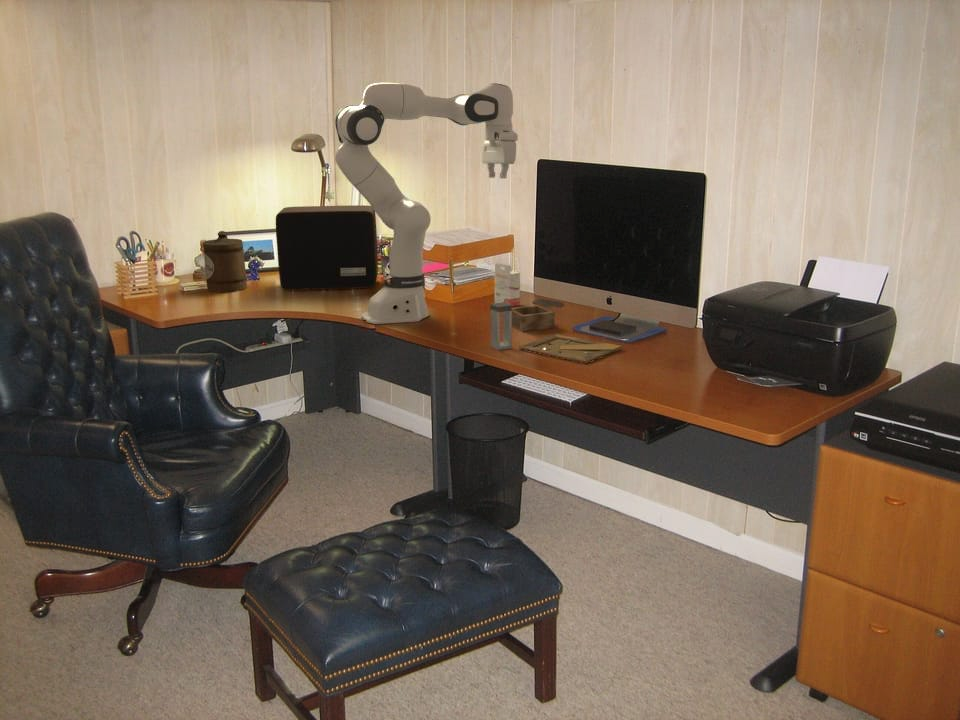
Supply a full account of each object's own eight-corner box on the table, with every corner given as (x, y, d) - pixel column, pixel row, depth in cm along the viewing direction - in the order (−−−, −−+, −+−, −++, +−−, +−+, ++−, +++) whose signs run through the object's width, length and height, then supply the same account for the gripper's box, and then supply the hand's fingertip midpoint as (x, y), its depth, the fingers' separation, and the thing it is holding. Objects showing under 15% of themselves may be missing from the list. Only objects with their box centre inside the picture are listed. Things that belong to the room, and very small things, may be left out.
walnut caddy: (522, 331, 296) (522, 316, 295) (506, 323, 306) (506, 308, 305) (554, 327, 300) (554, 312, 299) (538, 319, 310) (538, 304, 309)
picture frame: (621, 351, 276) (555, 338, 290) (621, 345, 275) (555, 332, 290) (585, 366, 262) (518, 351, 277) (586, 360, 262) (518, 346, 276)
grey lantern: (497, 350, 276) (496, 307, 273) (490, 346, 280) (490, 303, 277) (512, 348, 278) (511, 305, 274) (505, 344, 282) (505, 302, 278)
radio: (378, 280, 374) (375, 204, 366) (376, 290, 357) (373, 210, 349) (286, 282, 372) (281, 206, 363) (280, 292, 355) (274, 212, 346)
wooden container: (209, 285, 369) (203, 229, 362) (248, 283, 371) (243, 227, 365) (205, 293, 355) (199, 235, 348) (246, 291, 357) (241, 233, 351)
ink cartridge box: (520, 305, 330) (521, 263, 326) (510, 307, 327) (510, 265, 323) (504, 301, 337) (504, 260, 332) (493, 303, 333) (493, 262, 329)
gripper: (477, 135, 319) (476, 177, 322) (502, 134, 300) (500, 178, 303) (495, 136, 321) (493, 177, 324) (520, 135, 303) (518, 178, 306)
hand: (497, 178), depth 313 cm, fingers open, 8 cm apart
